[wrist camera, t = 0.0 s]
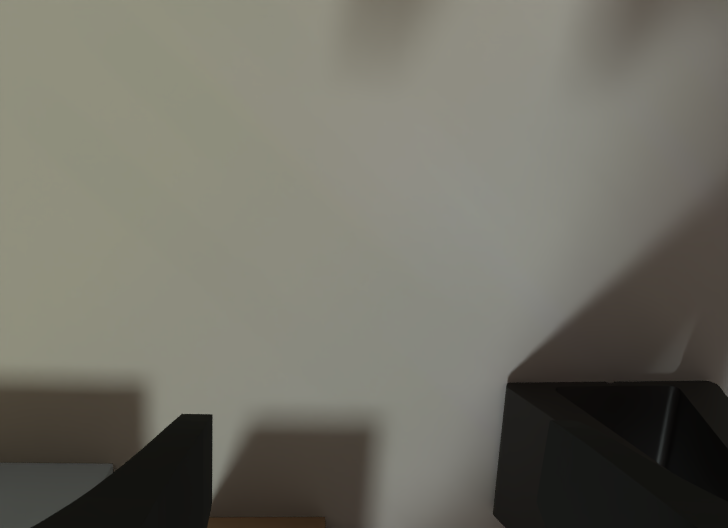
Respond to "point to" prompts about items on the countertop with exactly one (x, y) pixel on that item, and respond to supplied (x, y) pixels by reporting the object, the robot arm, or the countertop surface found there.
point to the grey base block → (43, 489)
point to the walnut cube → (266, 522)
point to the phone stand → (612, 433)
